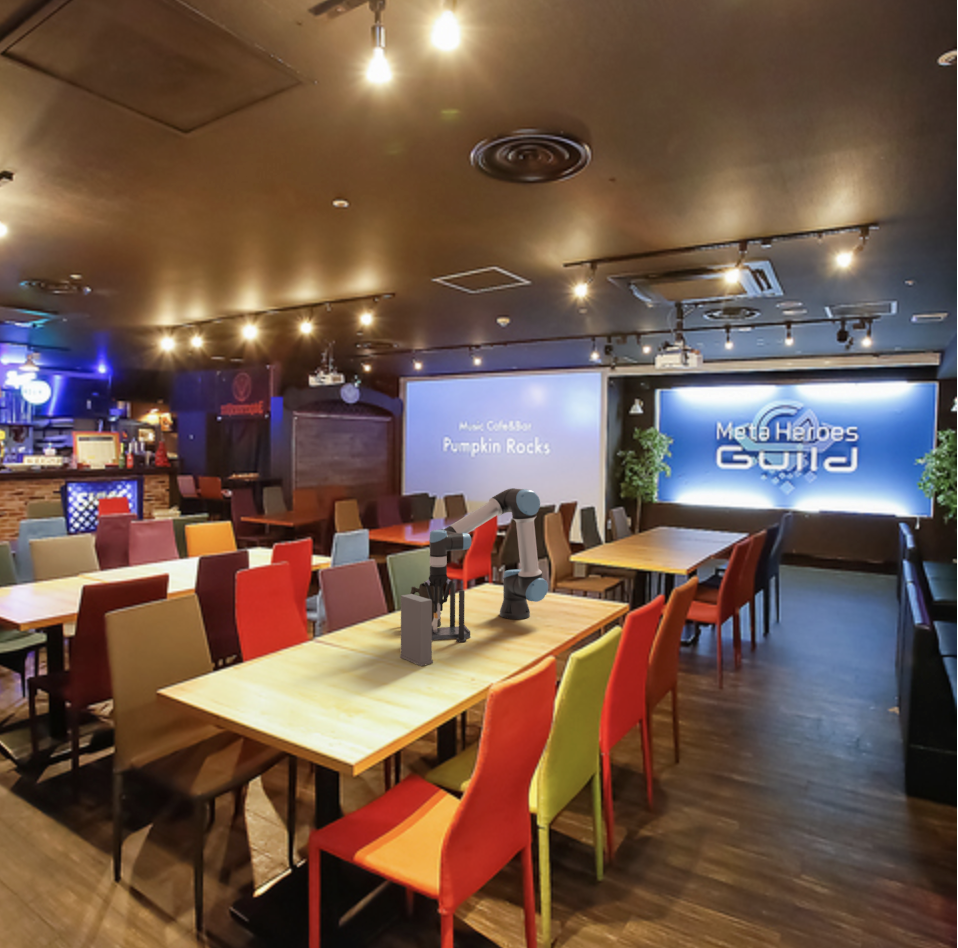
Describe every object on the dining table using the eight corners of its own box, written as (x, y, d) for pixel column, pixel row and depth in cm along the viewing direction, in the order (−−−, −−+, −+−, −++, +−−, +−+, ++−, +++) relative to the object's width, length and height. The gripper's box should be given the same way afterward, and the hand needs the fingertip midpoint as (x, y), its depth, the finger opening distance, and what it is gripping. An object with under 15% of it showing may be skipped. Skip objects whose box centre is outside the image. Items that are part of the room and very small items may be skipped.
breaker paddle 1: (432, 627, 294) (440, 611, 294) (434, 630, 290) (441, 613, 291) (429, 626, 293) (437, 610, 294) (430, 628, 290) (438, 611, 290)
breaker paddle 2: (435, 631, 288) (436, 612, 288) (437, 633, 284) (438, 614, 284) (432, 631, 287) (433, 612, 287) (433, 633, 284) (434, 614, 284)
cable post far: (456, 628, 300) (456, 581, 300) (458, 630, 296) (458, 583, 295) (446, 628, 299) (447, 581, 298) (448, 631, 295) (449, 583, 294)
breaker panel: (464, 630, 297) (464, 624, 297) (470, 637, 286) (470, 631, 285) (412, 633, 291) (412, 627, 291) (416, 641, 279) (416, 635, 279)
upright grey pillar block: (433, 663, 251) (433, 599, 250) (420, 666, 247) (421, 602, 246) (412, 654, 261) (413, 593, 260) (400, 657, 257) (400, 595, 256)
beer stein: (444, 622, 310) (441, 581, 309) (440, 628, 299) (438, 585, 299) (412, 623, 312) (410, 582, 311) (408, 629, 301) (405, 587, 300)
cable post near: (465, 639, 283) (465, 589, 282) (467, 642, 279) (467, 591, 278) (455, 640, 282) (455, 589, 281) (457, 642, 278) (457, 592, 277)
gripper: (450, 563, 290) (450, 615, 291) (422, 564, 287) (422, 617, 288) (454, 566, 283) (454, 619, 284) (425, 567, 280) (425, 621, 281)
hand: (438, 618), depth 286 cm, fingers closed
